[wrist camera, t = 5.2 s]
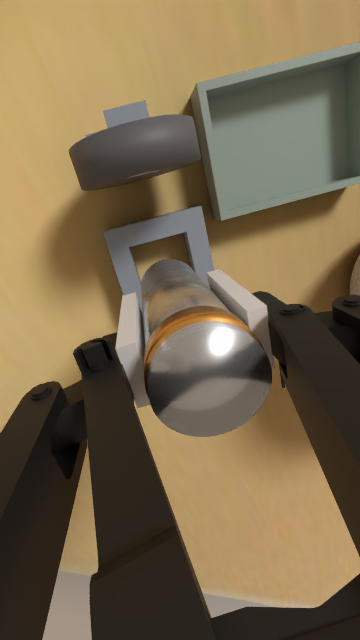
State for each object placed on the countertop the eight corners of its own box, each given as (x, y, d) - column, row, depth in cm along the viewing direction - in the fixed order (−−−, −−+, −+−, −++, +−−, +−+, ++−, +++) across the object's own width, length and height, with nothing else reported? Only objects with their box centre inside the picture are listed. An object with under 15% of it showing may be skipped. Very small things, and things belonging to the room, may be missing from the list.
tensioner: (133, 315, 31) (131, 360, 22) (75, 140, 25) (39, 101, 16) (214, 293, 32) (245, 328, 22) (177, 114, 25) (199, 61, 16)
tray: (213, 219, 29) (221, 220, 26) (190, 96, 25) (196, 83, 22) (349, 182, 29) (371, 180, 27) (347, 56, 26) (373, 38, 23)
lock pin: (149, 323, 21) (164, 453, 10) (131, 266, 19) (127, 348, 8) (205, 307, 21) (281, 418, 10) (192, 250, 20) (266, 308, 9)
